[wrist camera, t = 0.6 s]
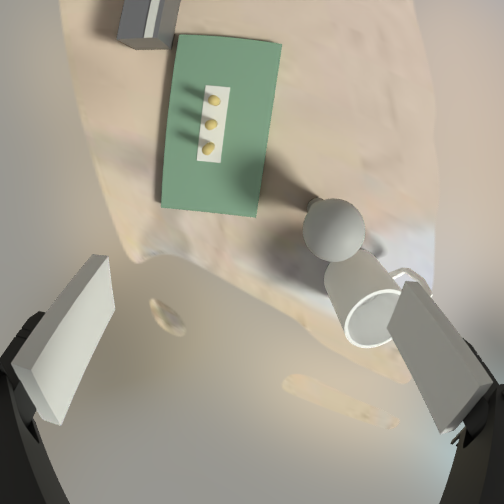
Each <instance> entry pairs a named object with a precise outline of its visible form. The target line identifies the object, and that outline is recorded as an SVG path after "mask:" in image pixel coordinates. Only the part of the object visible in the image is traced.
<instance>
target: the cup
mask: <svg viewBox="0 0 504 504" xmlns="http://www.w3.org/2000/svg"><path fill="white" fill-rule="evenodd" d="M403 274H407V275H408V276H410V277H411V278H412V279H414V280H415V281H417V282H418V283H419V284H420V285H421V286H422V287H423V289H424V290H425V291H426V292H427V293H428V295H429V296H430V297H431V298H432V296H433V294H432V292H431V290H430V288H429V286H428V284H427V283H426V281H425V279H424V278H422V277H421V276H420V275H418V274H417V273H416V272H414V271H413V270H411V269H409V268H400V269H397V270H395V271H392V272H390V273H388V272H387V271H386V269H385V268H384V267H383V266H382V265H381V263H380V262H379V261H378V260H377V258H376V257H375V256H374V255H373V254H372V253H370V252H369V251H366V250H363V249H359V250H358V251H357V252H356V253H355V254H354V255H353V256H352V257H350V258H348V259H346V260H343V261H340V262H330V264H329V265H328V267H327V269H326V271H325V275H324V286H325V289H326V291H327V293H328V295H329V298H330V300H331V302H332V305H333V307H334V309H335V312H336V314H337V316H338V319H339V321H340V323H341V326H342V328H343V330H344V333H345V335H346V338H347V339H348V340H349V342H350V343H352V344H353V345H355V346H357V347H361V348H373V347H377V346H380V345H383V344H385V343H387V342H389V341H391V340H392V337H391V335H390V334H389V332H388V330H387V326H388V323H389V321H390V319H391V316H392V314H393V311H394V309H395V306H396V304H397V302H398V299H399V296H400V294H401V291H402V290H401V288H400V287H399V286H398V285H397V283H396V282H395V281H394V279H396V278H398V277H399V276H401V275H403Z"/></svg>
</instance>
